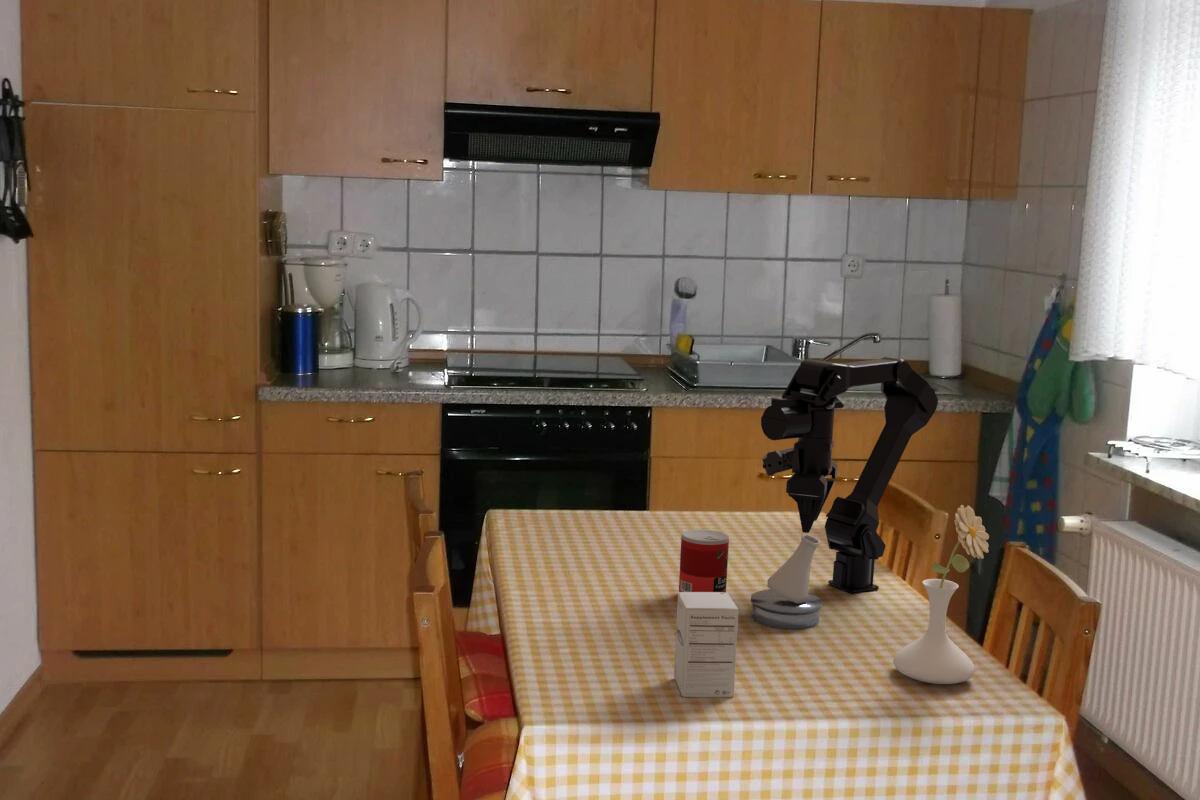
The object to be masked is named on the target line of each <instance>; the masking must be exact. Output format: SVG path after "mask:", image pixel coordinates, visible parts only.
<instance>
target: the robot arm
mask: <svg viewBox="0 0 1200 800" xmlns="http://www.w3.org/2000/svg"><path fill="white" fill-rule="evenodd" d="M877 384H880V392H881V394H882V395H883V397H884V398H885V399H886V401H885V403H884V407H883V409H884V419H885V421H884V422H885V423H884V426H883V428H882V430H881V432H880V434H879V436H878V438H877V440H876V443H875V444H874V446H873V449H872V450H871V452H870V455H869V456H868V459H867V460H866V462H865V465H864V466H863V469H862V471H861V473H860V475H859V477H858V479H857V481H856V484H855V485H854V488H853V489H852V491H851V493H850V494H849V495H847V496H846V497H841V496H836V498H834V500H833V501H832V502H833V503H832V506H831V507H830V509H829V511H828V513H826V515H825V517H826V520H825V522H824V530H825V535H826V539H827V546H828V549H829V550H832V551H833V550H834V551H835V560H834V561H833V571H832V579H830V580H828V584H829V585H831V586H834V587H836V588H838V589H840V590H843V591H845V592H847V593H849V594H850V593H851V594H852V593H853V594H854V593H859V592H860V593H861V592H868V591H875V590H879V589H880V586H879V585H876V584H874V575H875V560H879V558H882V557H884V554H885V550H886V543H885V542H884V540H883V539H882V538H881V536H880V535H879V533H878V532H877V530H878V527H879V525H880V519H879V509H878V506H879V504H880V501H881V500H882V497H883V496H884V493H885V491H886V490H887V487H888V485H889V483H890V481H891V479H892V477H893V475H894V473H895V470H896V468H897V467H898V464H899V463H900V461H901V459H902V456H903V454H904V452H905V450H906V448H907V447H908V443H909V441H910V440H911V437H912V436H913V435H914V434H915V433H917V432H919V431H920V430H922V429H923V428H924V427H926V426H927V424H928V423H929V422H930V420H931V418H932V417H933V416H934V414H935V412H936V410H937V408H938V404H939V400H938V396H937V393H936V391H935V390H934V388H933V387H931V385H930V384H929V382H928V381H927V380H925V379H924V378H923V377H922V376H921V375H919V373H917V372H916V371H915V370H914V369H913V368H912V367H911V365H910V364H909V362H907V361H906V360H905V359H902V358H895V357H889V356H888V357H887V356H883V357H881V358H877V359H869V360H868V359H867V360H861V361H860V360H859V361H851V362H842V363H841V362H840V363H837V362H836V363H835V362H831V361H830V362H828V361H823V360H816V359H804V360H801V362H800V364H799V367H798V368H797V369H796V371H795V373H794V374H793V376H792V378H791V380H790V382H789V383H788V385H787V386H786V389H785V390H784V392H783V394H782V395H781V397H780V398H779V397H773V398H772V399H771V403H770V405H769V406H767V407H766V408H765V409H764V411H763V414H762V416H761V418H760V427H761V430H762V432H763V434H764V436H765V437H766V438H767V439H769V440H771V441H780V440H789V439H791V440H792V439H797V440H796V442H795V443H794V444H793V447H790V448H789V447H788V448H786V449H782V450H778V449H775V450H773V451H768V452H767V454H765V455H764V456H763V457H762V458H761V460H762V462H763V463H762V468H763V469H764V470H765V473H766V476H767V477H770V476H774V475H775V474H778V473H781V472H786V471H790V470H791V473H792V475H791V476H790V477H789V478H788V479H787V480H786V485H785V486H786V487H785V493H787V496H789V497H790V498H792V499H793V501H794V502H796V504H797V509H798V510H797V511H798V516H799V520H800V525H801V526H800V527H801V531H802V533H803V534H809V533H810V532H811V530H812V527H813V525H814V523H815V521H817V520H818V519H819V517H820V514H821V512H822V509H823V507H824V505H825V504H826V502H827V500H828V497H829V495H830V493H831V490H832V488H833V486H834V484H835V482H836V478H837V477H838V467H839V465H838V464H837V463H836V462H835V461H834V460H833V459H832V454H833V453H832V452H833V448H834V446H835V440H833V439H834V425H835V424H834V422H835V421H834V420H835V409H836V410H838V409H843V408H844V403H843V402H842V401H841V400H840V399H839V398H838V397H837V396H840V395H842V394H845V393H847V391H848V390H849V389H852V388H853V387H861V386H868V385H877ZM793 473H794V474H793ZM828 476H831V477H828Z"/></svg>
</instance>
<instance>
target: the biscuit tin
mask: <svg viewBox="0 0 1200 800" xmlns="http://www.w3.org/2000/svg"><path fill="white" fill-rule="evenodd" d="M750 602H751V619H752V620H753V621H754V622H755V623H757V624H759V625H762V626H764V627H769V628H773V629H778V630H792V631H793V630H797V631H798V630H807V629H811V628H815V627H817V626H818V625H819V623H820V611H821V608H822V607H823V602H822V599H820V598H819V597H818V596H816V595H813V594H812V593H809V592H808V600H807V602H803V603H795V602H792V601H790V600H788V599H785V598H783V597H780V596H779V595H778V594H776V593H775V592H774V591H772V590H771V589H770V588H768V589H762V590H759V591H755V592H753V593H752V594H751V596H750Z"/></svg>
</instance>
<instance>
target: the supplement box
mask: <svg viewBox="0 0 1200 800" xmlns="http://www.w3.org/2000/svg"><path fill="white" fill-rule="evenodd" d="M676 610H677V611H676V612H677V613H676V626H675V627H676V628H675V629H676V630H675V646H674V647H675V649H674V667H673V677H674V680H675V682H676V684H677V686H678V689H679V691H680V695H681V697H683V698H733V697H734V694H735V682H736V681H735V679H736V677H735V676H736V675H735V673H736V659H737V644H738V626H739V608H738V606H737V604H736V602H734V599H733V598H732V597H731V596H730V594H729V592H726V593H724V592H679V591H678V593H677V607H676Z"/></svg>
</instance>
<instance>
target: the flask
mask: <svg viewBox="0 0 1200 800" xmlns="http://www.w3.org/2000/svg"><path fill="white" fill-rule="evenodd" d="M820 545H821V541H820V539H818V538H816V537H815V536H813V535H810V534H809V533H803V534H801V539H800V543H799V545H798V546H797V548H796V549H795V551H794V552H793V554H792V555H791V556H790V557H789V558H788V559H787V560H786V561H785V562H783V564H782V565H781V566H780V567H779V568H778V569H777V570H776V571H775V572H774V573H773V574H772V575H771V576H770V577H769V578H768V579H767V585H766V586H767V587H768V589H771V590H772V591H774V592H775V593H776V594H778V595H779V596H780V597H783V598H785V599H788V600H790V601H792V602H795V603H803V602H807V600H808V593H809V585H810V584H809V583H810V575H811V566H812V563H813V562H812V560H813V558H814V555H815V551H816V550H817V548H818V547H819V546H820Z"/></svg>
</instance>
